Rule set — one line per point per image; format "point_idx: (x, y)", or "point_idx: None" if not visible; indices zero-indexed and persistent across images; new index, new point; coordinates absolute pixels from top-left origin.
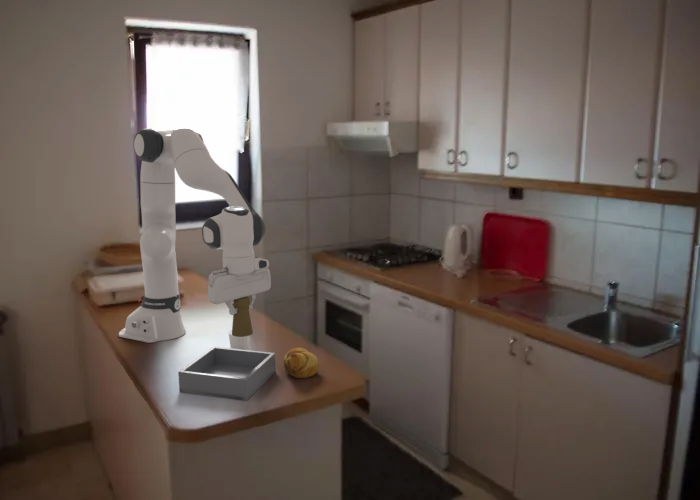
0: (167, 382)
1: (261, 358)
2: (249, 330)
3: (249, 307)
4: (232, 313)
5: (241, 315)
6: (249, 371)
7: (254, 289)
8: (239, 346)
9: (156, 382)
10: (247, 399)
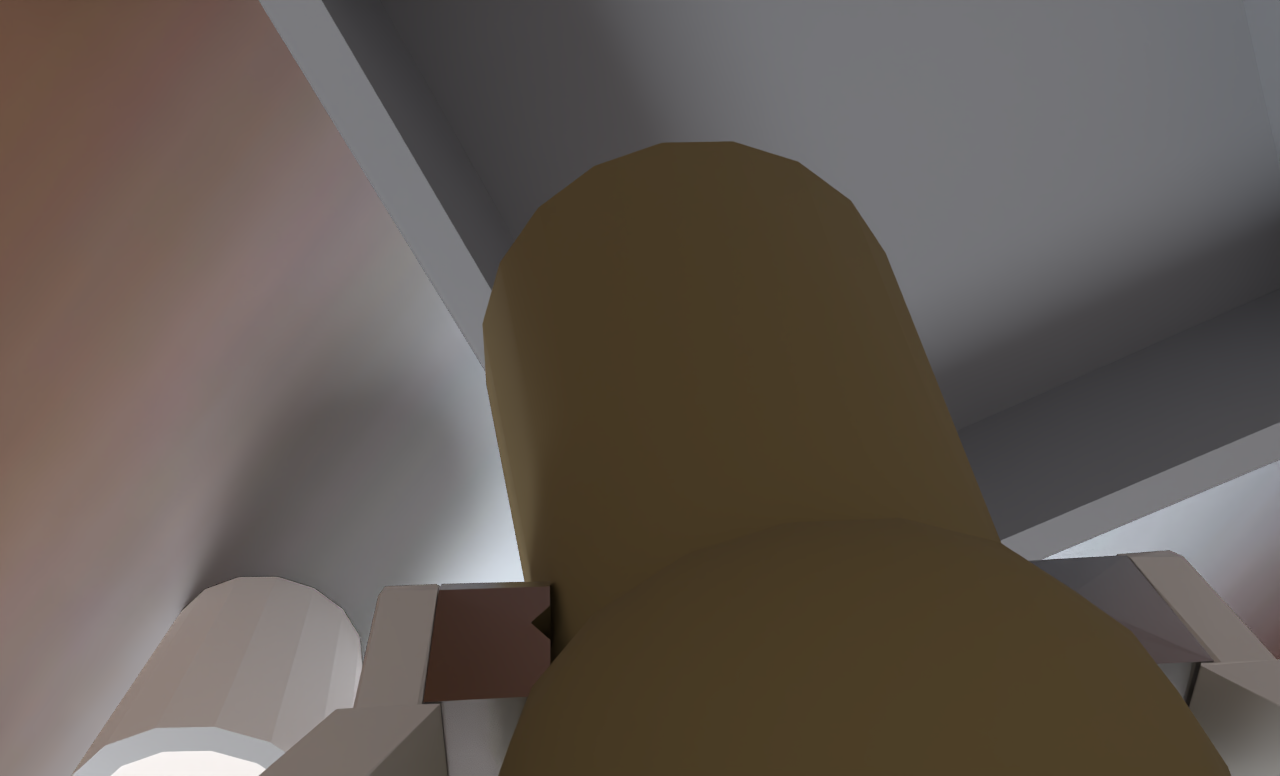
0: (1201, 536)
1: (397, 92)
2: (684, 180)
3: (520, 627)
4: (1185, 596)
5: (930, 439)
6: (575, 116)
7: None
8: (305, 658)
9: (1247, 596)
10: None
